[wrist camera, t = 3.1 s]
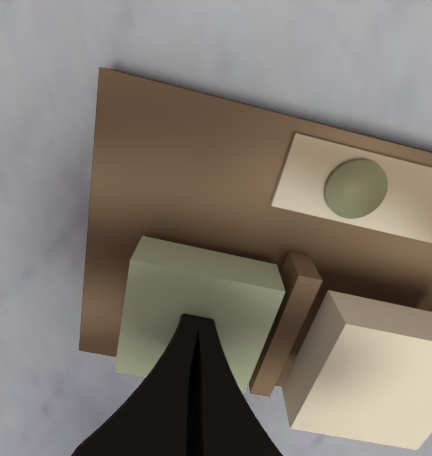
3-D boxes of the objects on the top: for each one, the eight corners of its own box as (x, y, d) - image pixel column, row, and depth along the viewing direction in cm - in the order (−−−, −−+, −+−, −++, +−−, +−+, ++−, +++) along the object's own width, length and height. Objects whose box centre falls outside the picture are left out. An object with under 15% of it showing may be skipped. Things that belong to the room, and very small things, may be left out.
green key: (241, 360, 16) (243, 395, 14) (126, 339, 16) (114, 372, 14) (276, 264, 14) (285, 291, 12) (142, 235, 13) (130, 259, 11)
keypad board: (501, 406, 20) (552, 465, 17) (89, 330, 18) (61, 382, 15) (678, 216, 15) (804, 252, 12) (112, 69, 12) (75, 63, 9)
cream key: (394, 407, 16) (416, 449, 14) (281, 387, 15) (290, 428, 13) (459, 317, 13) (497, 354, 12) (328, 290, 13) (346, 323, 11)
